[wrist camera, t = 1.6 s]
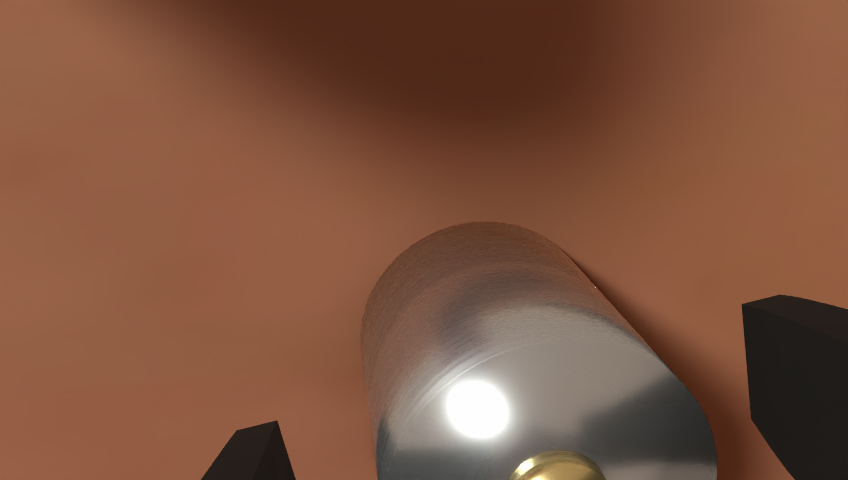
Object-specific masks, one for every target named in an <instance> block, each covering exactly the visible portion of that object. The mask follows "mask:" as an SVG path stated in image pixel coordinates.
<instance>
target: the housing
mask: <svg viewBox="0 0 848 480" xmlns="http://www.w3.org/2000/svg"><path fill="white" fill-rule="evenodd" d="M361 352H362V360H363V368H364V375H365V383H366V391H367V398H368V406H369V414H370V421H371V429H372V437H373V444H374V452H375V460H376V467H377V475H378V480H716V479H717V454H716V449H715V443H714V438H713V434H712V431H711V429H710V426H709V423H708V420H707V418H706V416H705V414H704V412H703V410H702V408H701V407H700V405H699V403H698V402H697V400H696V399H695V398H694V396H693V395H692V394H691V392H690V391H689V390H688V388H687V387H686V386H685V385H684V384H683V383H682V382H681V381H680V379H679V378H678V377H677V376H676V375H675V374H674V373H673V372H672V371H671V369H670V368H669V367H668V366H667V365H666V364H665V363H664V362H663V361H662V360H661V358H660V357H659V356H658V355H657V354H656V353H655V352H654V351H653V350H652V348H651V347H650V346H649V345H648V344H647V343H646V342H645V341H644V340H643V338H642V337H641V336H640V335H639V334H638V333H637V332H636V331H635V330H634V329H633V327H632V326H631V325H630V324H629V323H628V322H627V321H626V320H625V319H624V317H623V316H622V315H621V314H620V313H619V312H618V311H617V310H616V309H615V307H614V306H613V305H612V304H611V303H610V302H609V301H608V300H607V299H606V298H605V296H604V295H603V294H602V293H601V292H600V291H599V290H598V289H597V288H596V286H595V285H594V284H593V283H592V282H591V281H590V280H589V279H588V278H587V276H586V275H585V274H584V273H583V272H582V271H581V270H580V269H579V268H578V267H577V265H576V264H575V263H574V262H573V261H572V260H571V259H570V258H569V257H568V256H567V255H566V254H565V253H564V252H563V251H562V250H561V249H560V248H559V247H558V246H557V245H555V244H554V243H552V242H551V241H550V240H548V239H547V238H545V237H543V236H541V235H539V234H537V233H536V232H534V231H531V230H528V229H525V228H523V227H520V226H516V225H511V224H507V223H499V222H472V223H466V224H461V225H456V226H452V227H449V228H446V229H443V230H440V231H438V232H435V233H433V234H431V235H429V236H426V237H425V238H423V239H421V240H420V241H418V242H416V243H415V244H413V245H412V246H410V247H409V248H408V249H407V250H405V251H404V252H403V253H402V254H400V255H399V256H398V257H397V258H396V259H395V260H394V261H393V262H392V263H391V264H390V265H389V266H388V268H387V269H386V270H385V272H384V273H383V274H382V276H381V277H380V278H379V280H378V282H377V283H376V285H375V287H374V289H373V290H372V292H371V295H370V297H369V300H368V302H367V305H366V307H365V311H364V315H363V319H362V327H361Z"/></svg>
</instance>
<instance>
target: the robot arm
mask: <svg viewBox="0 0 848 480" xmlns="http://www.w3.org/2000/svg"><path fill="white" fill-rule="evenodd" d="M742 313H743V326H744V338H745V350H746V362H747V374H748V386H749V399H750V411H751V419H752V421H753V422H754V424H755V425H756V427H757V428H758V430H759V431H760V433H761V434H762V436H763V437H764V439H765V440H766V442H767V443H768V445H769V446H770V448H771V449H772V450H773V452H774V453H775V455H776V456H777V457H778V459H779V460H780V461H781V463H782V464H783V466H784V467H785V468H786V470H787V471H788V472H789V473H790V474H791V475H792V477H793V478H794V479H795V480H848V309H844V308H840V307H836V306H833V305H829V304H825V303H820V302H816V301H812V300H808V299H803V298H798V297H793V296H786V295H777V296H773V297H769V298H765V299H761V300H757V301H753V302H749V303H745V304H742ZM201 480H296V479H295V476H294V473H293V470H292V466H291V463H290V460H289V457H288V454H287V450H286V447H285V444H284V441H283V438H282V434H281V431H280V428H279V425H278V422H277V421H273V422H269V423H265V424H261V425H257V426H253V427H249V428H245V429H241V430H237V431H236V432H235V433H234V435H233V436H232V437H231V438H230V440H229V441H228V443H227V444H226V445H225V447H224V448H223V449H222V451H221V452H220V454H219V455H218V457H217V458H216V459H215V461H214V462H213V464H212V465H211V466H210V468H209V469H208V471H207V472H206V473H205V475H204V476H203V478H202V479H201Z"/></svg>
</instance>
